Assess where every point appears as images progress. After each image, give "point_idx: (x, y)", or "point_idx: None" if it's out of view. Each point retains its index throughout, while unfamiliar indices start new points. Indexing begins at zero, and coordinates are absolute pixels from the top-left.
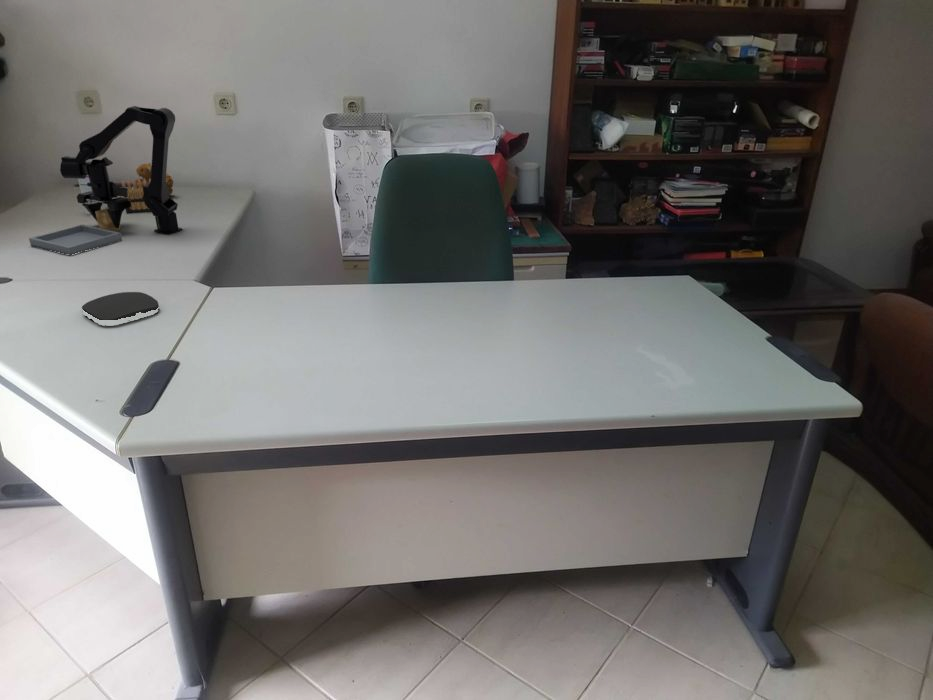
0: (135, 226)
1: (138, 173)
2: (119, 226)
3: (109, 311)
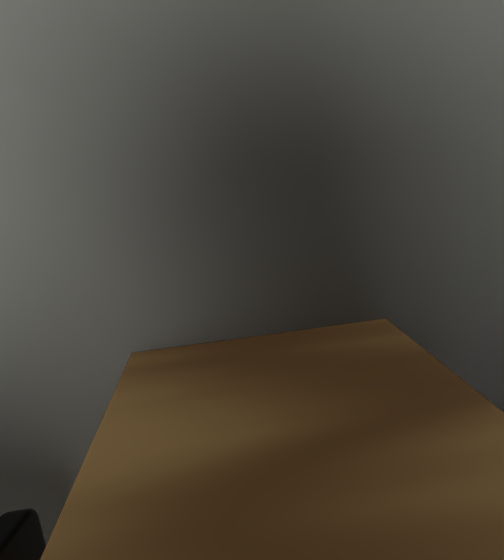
0: (463, 17)
1: None
2: (407, 344)
3: None
